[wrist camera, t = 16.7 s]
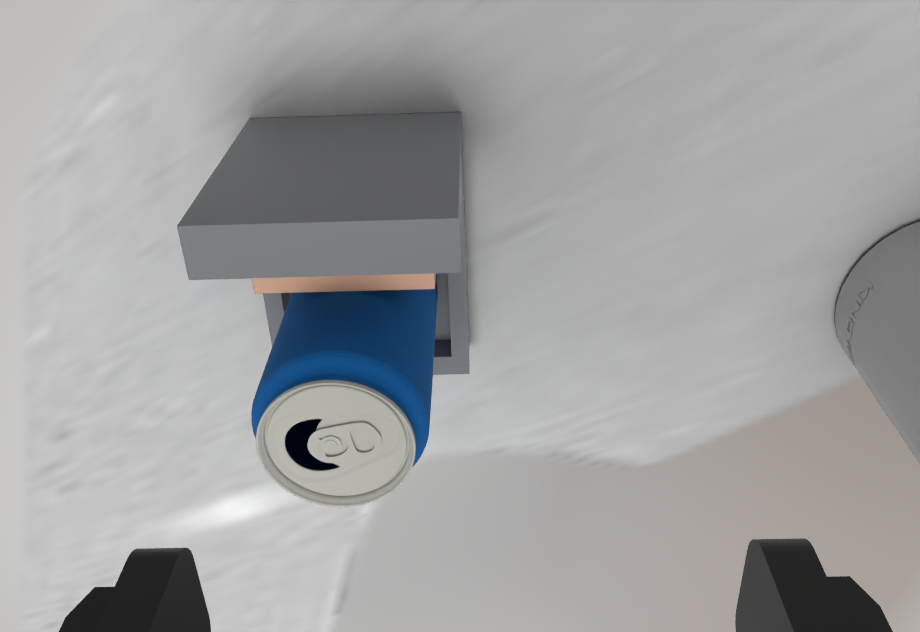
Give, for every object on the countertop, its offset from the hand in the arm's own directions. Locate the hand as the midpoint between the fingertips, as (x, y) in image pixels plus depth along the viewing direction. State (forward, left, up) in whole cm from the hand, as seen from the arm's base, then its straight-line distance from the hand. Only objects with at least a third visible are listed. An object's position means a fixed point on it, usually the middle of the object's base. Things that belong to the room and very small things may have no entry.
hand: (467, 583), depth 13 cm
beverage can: (+5, +10, -27) cm, 29 cm away
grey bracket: (+5, +8, -28) cm, 30 cm away
